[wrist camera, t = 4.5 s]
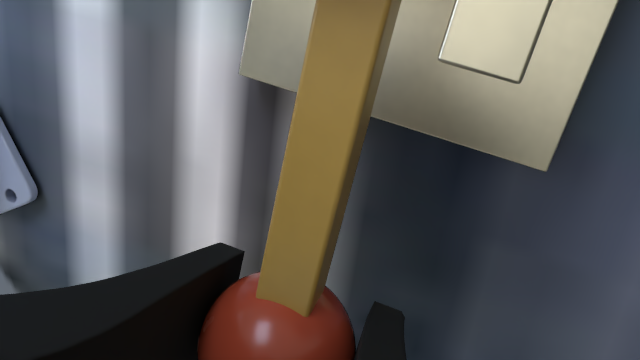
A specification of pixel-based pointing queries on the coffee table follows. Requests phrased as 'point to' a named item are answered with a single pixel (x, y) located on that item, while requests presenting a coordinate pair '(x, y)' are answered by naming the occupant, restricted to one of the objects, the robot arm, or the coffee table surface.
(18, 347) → the robot arm
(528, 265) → the coffee table surface
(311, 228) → the lever
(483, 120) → the tap bracket
